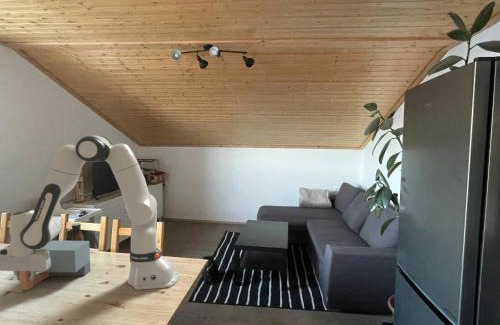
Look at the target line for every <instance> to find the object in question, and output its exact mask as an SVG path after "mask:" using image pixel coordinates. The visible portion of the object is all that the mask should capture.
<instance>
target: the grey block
mask: <svg viewBox="0 0 500 325" xmlns="http://www.w3.org/2000/svg"><path fill="white" fill-rule="evenodd" d="M90 247H91V246H90V240H84V241H70V240H53V239H52V240H50V241H49V242H48V243H47V244H46V245H45V246H44V247H43V248H40V249H46V250H48V251H49V253H50V259H51V267H50V268H49V269H48V270H46V271H37V272H36V273H43V272H49V276H58V277H59V276H65V277H67V276H69V277H71V276H72V277H73V276H74V277H77V276H78V277H79V276H80V277H81V276H82V277H85V276H86V275H88V274H89V273H90V272H91V252H90V250H91V248H90Z"/></svg>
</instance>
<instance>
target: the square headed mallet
mask: <svg viewBox="0 0 500 325" xmlns="http://www.w3.org/2000/svg"><path fill="white" fill-rule="evenodd" d="M40 273H41V274H39V275H37V276H35V277H34V278H35V279H34V280H33V281H28V277H29V276H31V274H32V273H30V271H19V276H20V281H19V288H20V290H21V291H28V290H30V289H32V288H34V285H36V284H38V283H40V282H41V280H42V281H44V280H45V279H46V278H48V277H50V275H49V272H40ZM43 279H44V280H43Z"/></svg>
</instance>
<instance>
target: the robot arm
mask: <svg viewBox="0 0 500 325" xmlns="http://www.w3.org/2000/svg"><path fill="white" fill-rule="evenodd" d="M87 162H88V163H97V162H100V163H101V162H106V163H108V165H109V167H110V170H111V172H112V173H113V175H114V179H115V181H116V182H117V185H118V187H119V189H120V193H121V196H122V199H123V203H124V205H125V206H124V207H125V209H126V212H127V216H128V219H129V221H130V222H131V224H130V225H131V226H130V227H131V229H130V251H129V262H130V270H129V275H128V279H127V284H128V285H129V286H131V287H133V289H134V290H135V291H136V290H137V291H138V290H151V289H163V288H164V289H165V288H171V287H173V286H174V285H176V283H177V282H178V280H179V279H180V274H179V273H180V272H178V271H177V270H175V269H174V268H175V267H174V264H173V263H172V261H169V260H168V259H167V258H165V257H163V256H162V251H163V250H162V248H160V249H159V247H157V245H158V244H157V238H158V237H157V225H158V224H157V223H158V221H157V220H158V219H157V218H158V202H157V200H156V198H155V196H154V195H152V194H151V193H150V192H149V188H148V185H147V182H146V178H145V176H144V173H143V171H142V169H141V167H140V164H139V162H138V160H137V157H136V156H135V154H134V152H133V150H132V149H131V148H130V146H129V145H128V144H126V143H123V142H122V143H116V144H112V143H111V141H110V140H109V139H108V138H107V137H104V136H101V135H87V136H86V135H85V136H84V137H81V138H80V139H79V140H78V141H77V143H76V145H74V144H64V145H61V146H60V147H59V149H58V150H57V151H56V154H55V156H54V158H53V160H52V162H51V164H50V168H49V171H48V174H47V177H46V181H45V183H44V186H43V188H42V192H41V194H40V197H39V198H38V202H37V204H36V206H35V208H34V209H30V208H29V209H24V210H18V211H16V212H14V213H13V214H12V215H11V216H10V218H9V236H10V243H9V245H6V246H5V247H2V248H0V272H12V273H13V274H14V276H15V277H16V281H18V282H20V276H19V271H30V273H32V274H31V276H29V277H28V281H33V280H34V279H35V278H34V275H35V274H37V273H38V272H37V271H46V270H48V269H49V268H50V267H51V259H50V253H49V251H48V250H46V249H40V248H43V247H44V246H45V245H46V244H47V243H48V242H50V241H52V240H53V239H54V238H56V237H57V236H58V235H60V233H61V232H62V229H63V223H62V221H61V219H59V218H58V217H57V216H54V212H55V211H56V208H57V206H58V204H59V202H60V201H61V200H62V199H64V197H65V196H66V195H67V194H68V193H70V192H71V191H72V190H73V189H74V188H75V186H76V184H77V183H78V181H79V178H80V176H81V172H82V169H83V166H84V164H85V163H87Z"/></svg>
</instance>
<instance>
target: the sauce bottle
mask: <svg viewBox="0 0 500 325" xmlns="http://www.w3.org/2000/svg"><path fill="white" fill-rule="evenodd" d="M81 226H82V225H81V223H80V222H79V223H72V224H71V230H72V232H71V236H70V239H69V241H85V237H84V234H83V233H82V230H81Z"/></svg>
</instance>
